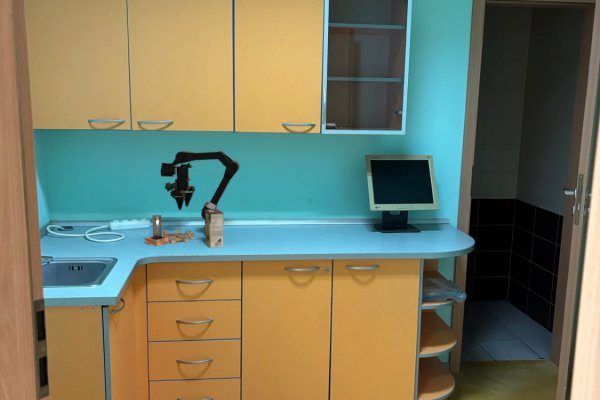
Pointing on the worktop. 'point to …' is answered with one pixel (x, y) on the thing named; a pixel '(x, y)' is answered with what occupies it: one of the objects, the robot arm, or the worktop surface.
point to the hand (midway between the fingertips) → (183, 208)
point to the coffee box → (214, 228)
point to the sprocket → (171, 238)
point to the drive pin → (157, 227)
